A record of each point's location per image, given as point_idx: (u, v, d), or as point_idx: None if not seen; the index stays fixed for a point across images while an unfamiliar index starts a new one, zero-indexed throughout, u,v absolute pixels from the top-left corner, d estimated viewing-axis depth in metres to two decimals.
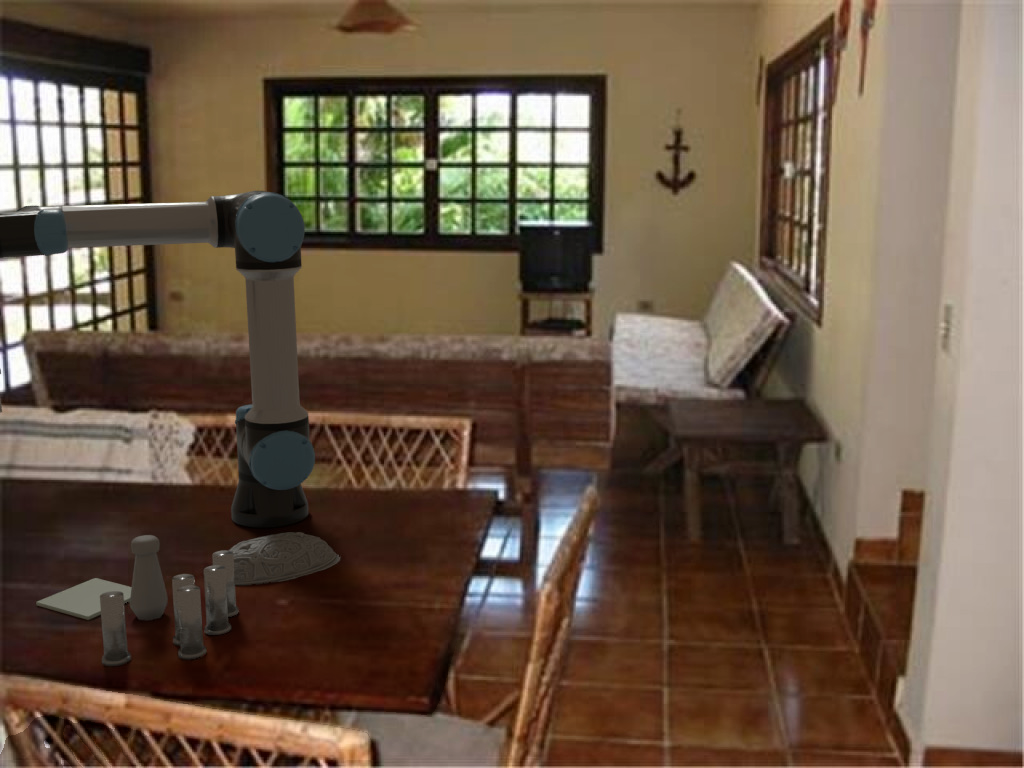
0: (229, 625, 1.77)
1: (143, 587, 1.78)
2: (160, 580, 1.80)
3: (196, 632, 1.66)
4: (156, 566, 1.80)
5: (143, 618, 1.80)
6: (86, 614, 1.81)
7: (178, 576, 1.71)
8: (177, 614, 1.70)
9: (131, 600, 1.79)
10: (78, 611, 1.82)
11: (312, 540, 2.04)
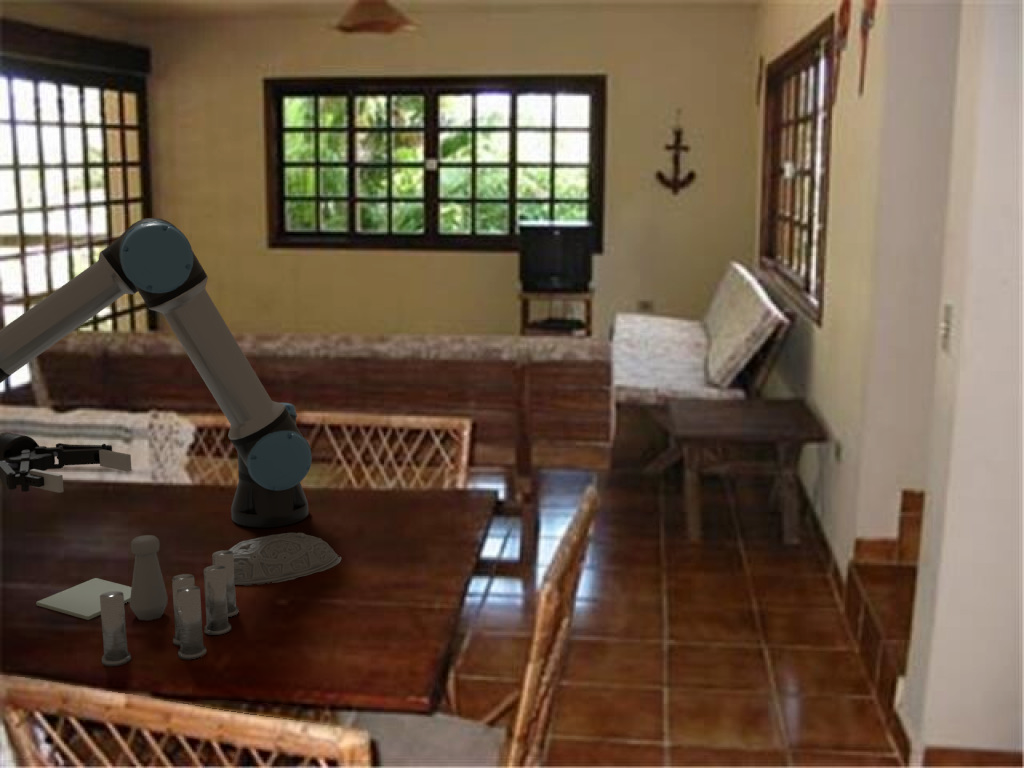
0: (229, 625, 1.77)
1: (143, 587, 1.78)
2: (160, 580, 1.80)
3: (196, 632, 1.66)
4: (156, 566, 1.80)
5: (143, 618, 1.80)
6: (86, 614, 1.81)
7: (178, 576, 1.71)
8: (177, 614, 1.70)
9: (131, 600, 1.79)
10: (78, 611, 1.82)
11: (313, 541, 2.04)
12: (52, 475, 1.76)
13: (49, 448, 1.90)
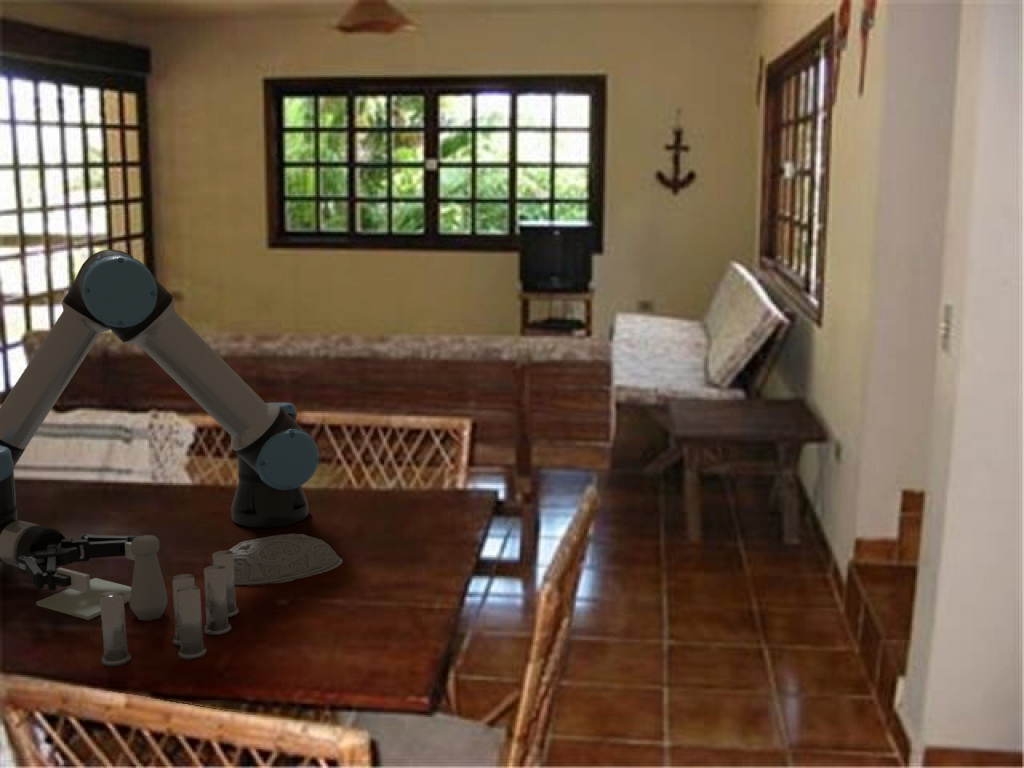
0: (229, 625, 1.77)
1: (143, 587, 1.78)
2: (160, 580, 1.80)
3: (196, 632, 1.66)
4: (156, 566, 1.80)
5: (143, 618, 1.80)
6: (86, 614, 1.81)
7: (178, 576, 1.71)
8: (177, 614, 1.70)
9: (131, 600, 1.79)
10: (78, 611, 1.82)
11: (313, 542, 2.03)
12: (79, 575, 1.76)
13: (75, 541, 1.90)
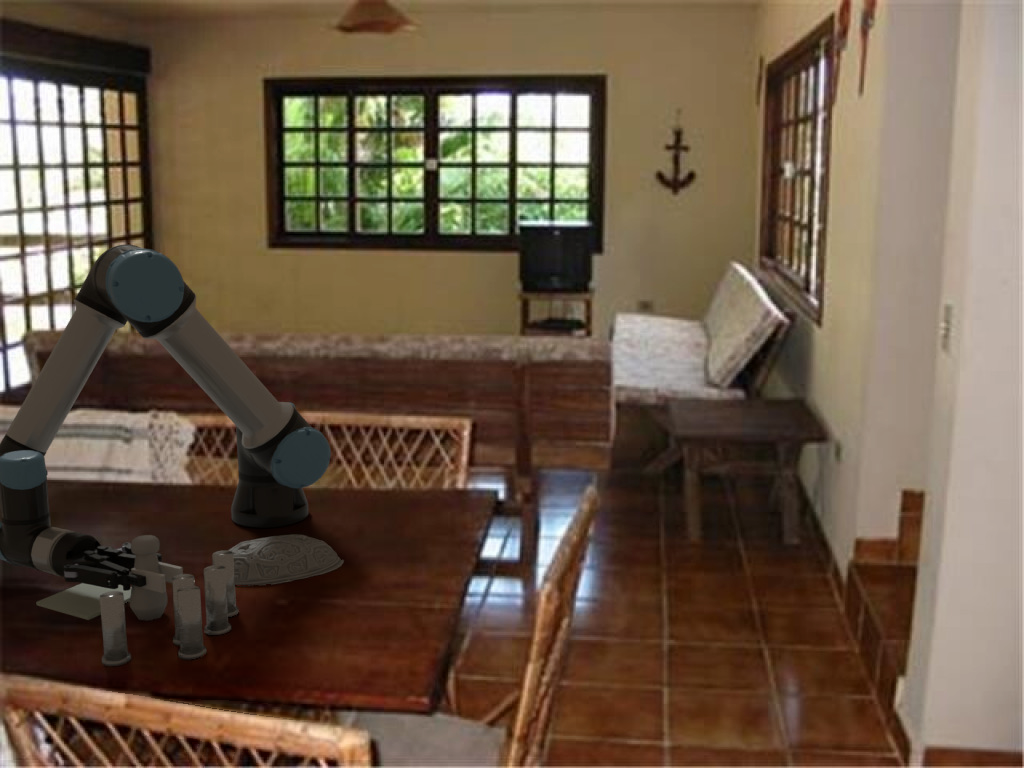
0: (229, 625, 1.77)
1: None
2: None
3: (196, 632, 1.66)
4: (156, 566, 1.80)
5: (143, 618, 1.80)
6: (86, 614, 1.81)
7: (178, 576, 1.71)
8: (177, 614, 1.70)
9: (131, 600, 1.79)
10: (78, 611, 1.82)
11: (313, 544, 2.02)
12: (155, 575, 1.76)
13: (109, 550, 1.86)
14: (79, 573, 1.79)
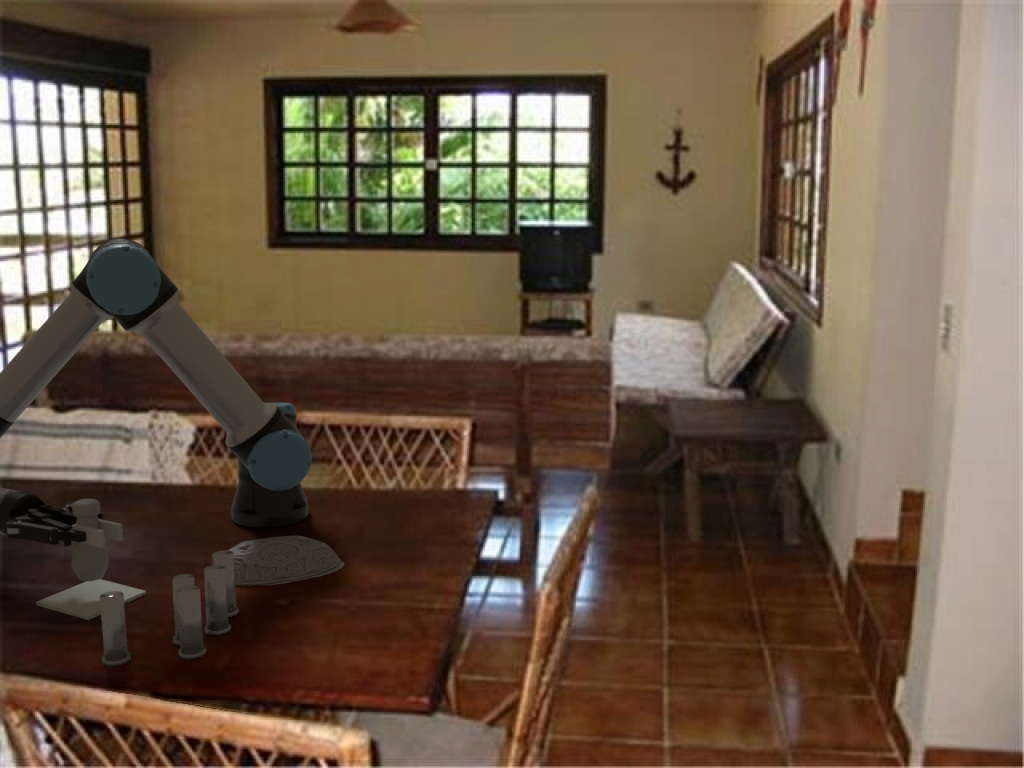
0: (229, 625, 1.77)
1: (85, 548, 1.84)
2: None
3: (196, 632, 1.66)
4: (97, 528, 1.85)
5: (85, 579, 1.85)
6: (86, 614, 1.81)
7: (178, 576, 1.71)
8: (177, 614, 1.70)
9: (73, 562, 1.85)
10: (78, 611, 1.82)
11: (313, 545, 2.02)
12: (94, 531, 1.81)
13: (52, 508, 1.91)
14: (21, 529, 1.84)
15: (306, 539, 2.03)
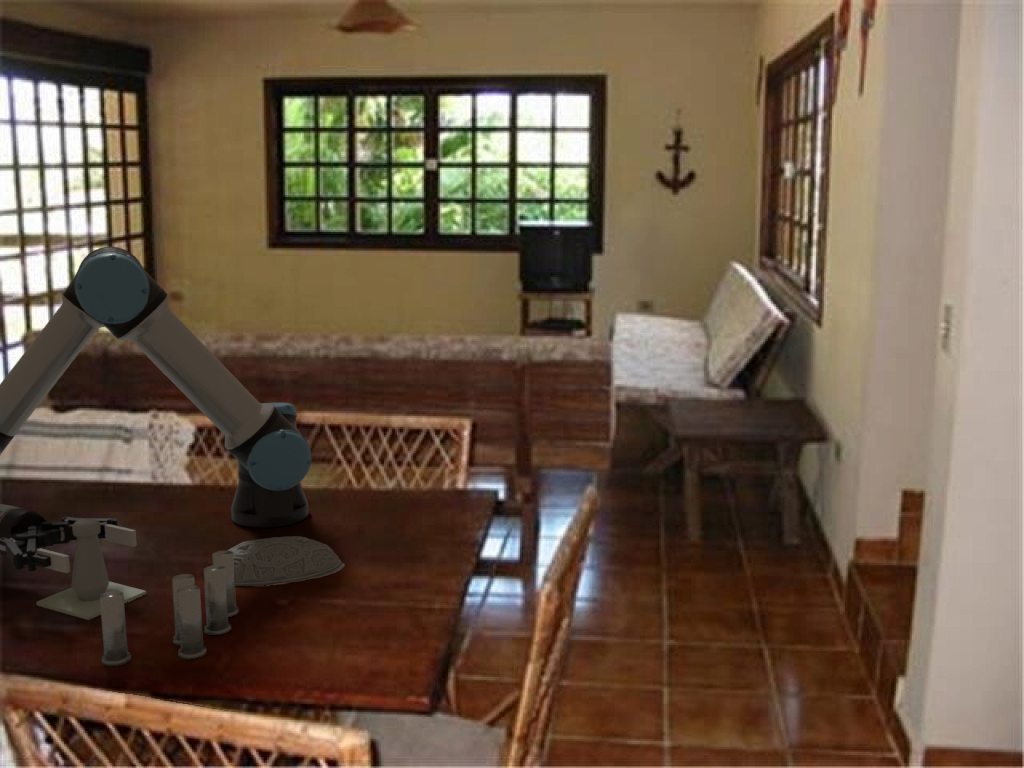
0: (229, 625, 1.77)
1: (85, 568, 1.85)
2: (102, 561, 1.87)
3: (196, 632, 1.66)
4: (98, 548, 1.86)
5: (86, 598, 1.86)
6: (86, 614, 1.81)
7: (178, 576, 1.71)
8: (177, 614, 1.70)
9: (74, 582, 1.85)
10: (78, 611, 1.82)
11: (313, 546, 2.01)
12: (59, 556, 1.79)
13: (55, 523, 1.93)
14: (6, 548, 1.85)
15: (306, 540, 2.02)
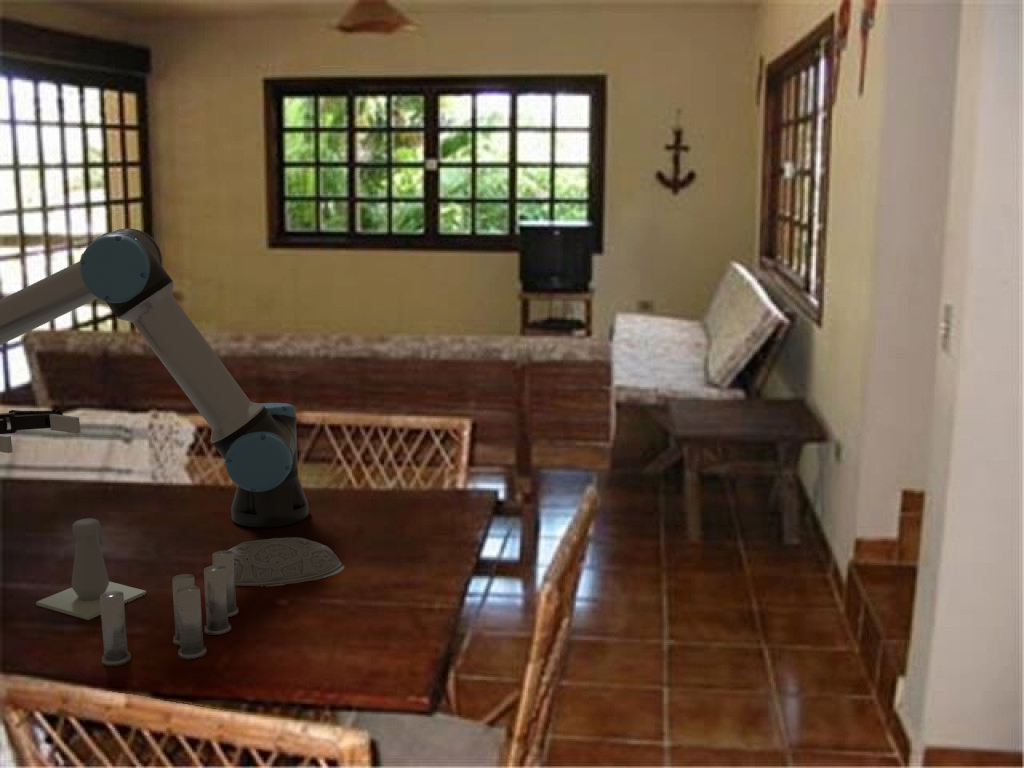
0: (229, 625, 1.77)
1: (85, 568, 1.85)
2: (102, 561, 1.87)
3: (196, 632, 1.66)
4: (98, 548, 1.86)
5: (86, 598, 1.86)
6: (86, 614, 1.81)
7: (178, 576, 1.71)
8: (177, 614, 1.70)
9: (74, 582, 1.85)
10: (78, 611, 1.82)
11: (313, 548, 2.00)
12: (1, 436, 1.84)
13: (1, 414, 1.98)
14: None
15: (306, 541, 2.02)
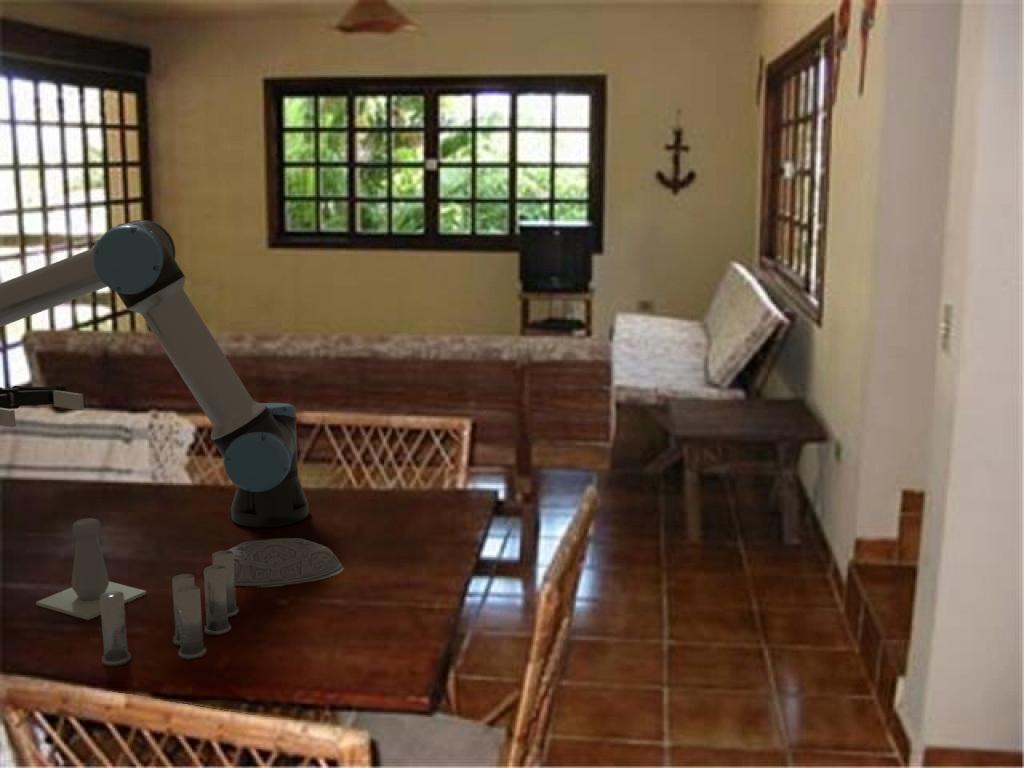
0: (229, 625, 1.77)
1: (85, 568, 1.85)
2: (102, 561, 1.87)
3: (196, 632, 1.66)
4: (98, 548, 1.86)
5: (86, 598, 1.86)
6: (86, 614, 1.81)
7: (178, 576, 1.71)
8: (177, 614, 1.70)
9: (74, 582, 1.85)
10: (78, 611, 1.82)
11: (312, 549, 2.00)
12: (4, 410, 1.84)
13: (5, 389, 1.98)
14: None
15: (306, 542, 2.01)
